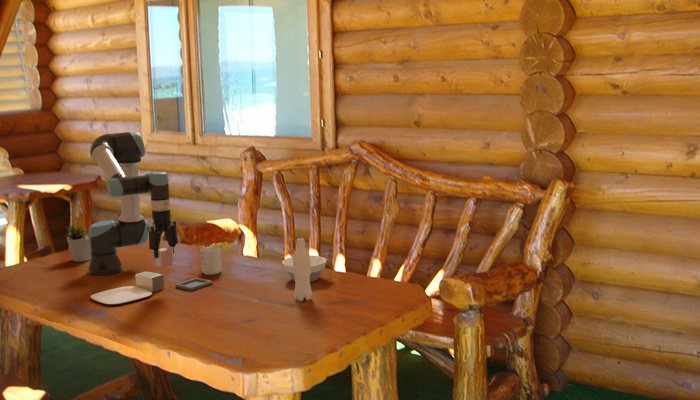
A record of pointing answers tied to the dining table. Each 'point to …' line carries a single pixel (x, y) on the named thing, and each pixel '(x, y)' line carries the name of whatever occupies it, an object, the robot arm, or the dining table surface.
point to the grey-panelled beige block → (149, 281)
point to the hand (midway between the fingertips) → (164, 263)
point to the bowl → (315, 265)
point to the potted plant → (79, 244)
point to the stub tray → (193, 284)
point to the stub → (163, 258)
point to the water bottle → (302, 271)
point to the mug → (211, 260)
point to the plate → (121, 295)
